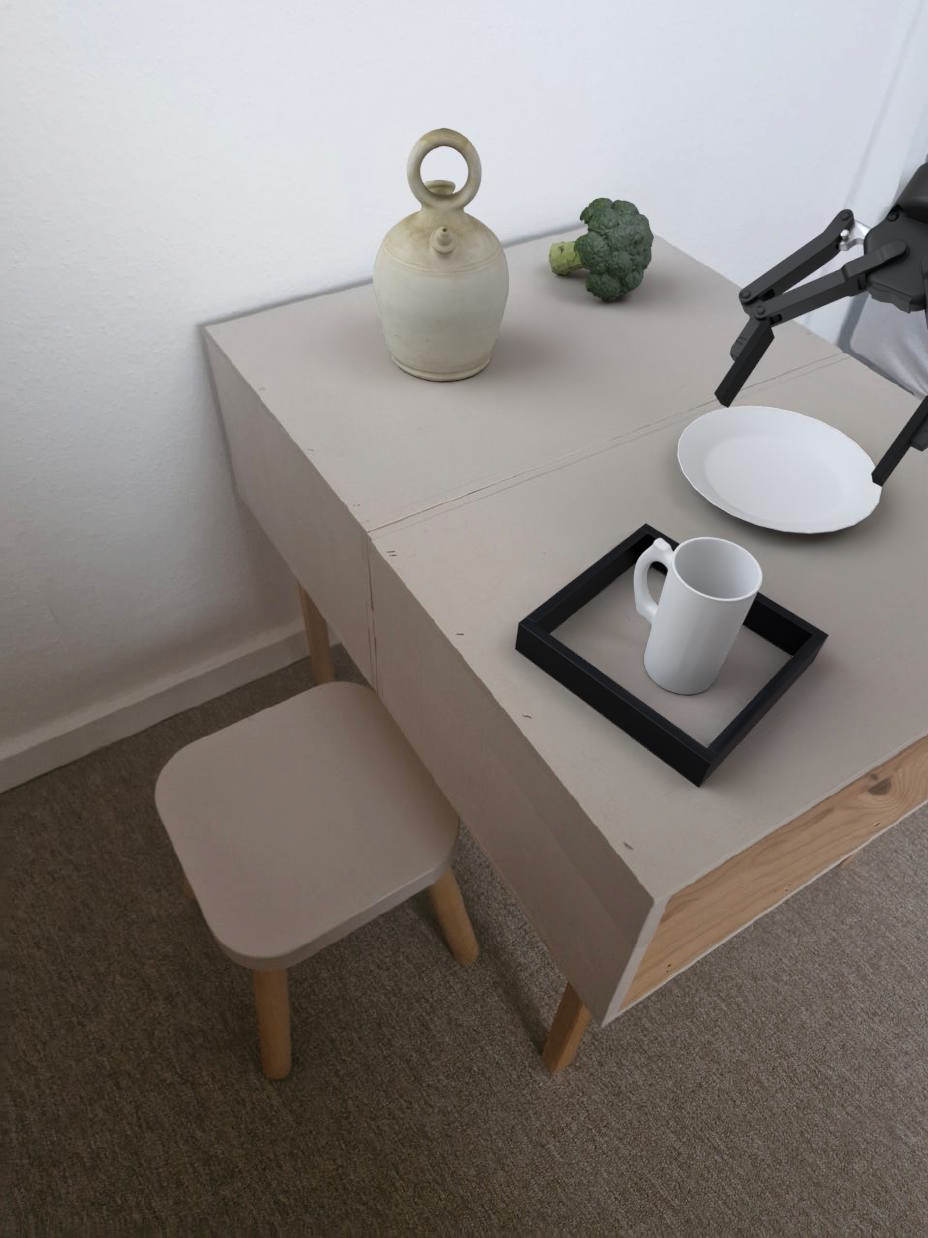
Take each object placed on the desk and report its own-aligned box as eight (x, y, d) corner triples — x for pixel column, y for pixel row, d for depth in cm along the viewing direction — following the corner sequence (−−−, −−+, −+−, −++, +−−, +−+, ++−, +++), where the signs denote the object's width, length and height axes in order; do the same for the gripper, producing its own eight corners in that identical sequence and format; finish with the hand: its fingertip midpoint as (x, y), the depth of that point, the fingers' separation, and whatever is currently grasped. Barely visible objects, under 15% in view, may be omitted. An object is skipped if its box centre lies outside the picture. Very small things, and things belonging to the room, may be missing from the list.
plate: (913, 497, 89) (922, 480, 87) (787, 579, 80) (795, 562, 78) (758, 401, 99) (764, 384, 98) (632, 464, 91) (636, 447, 89)
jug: (399, 312, 109) (396, 94, 90) (515, 334, 107) (537, 115, 88) (357, 375, 99) (344, 145, 81) (484, 400, 97) (501, 170, 78)
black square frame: (814, 660, 74) (829, 634, 71) (698, 788, 65) (710, 764, 62) (638, 549, 82) (645, 522, 79) (514, 649, 73) (518, 622, 70)
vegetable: (582, 232, 122) (678, 211, 112) (572, 321, 122) (666, 308, 113) (534, 196, 113) (634, 170, 103) (522, 292, 113) (621, 275, 104)
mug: (735, 671, 72) (781, 572, 63) (686, 712, 69) (726, 614, 60) (646, 603, 77) (676, 503, 68) (596, 639, 74) (621, 538, 65)
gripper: (1137, 272, 60) (948, 528, 64) (819, 162, 71) (674, 386, 74) (1165, 217, 53) (952, 506, 57) (810, 105, 64) (652, 354, 68)
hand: (794, 439), depth 66 cm, fingers open, 13 cm apart
